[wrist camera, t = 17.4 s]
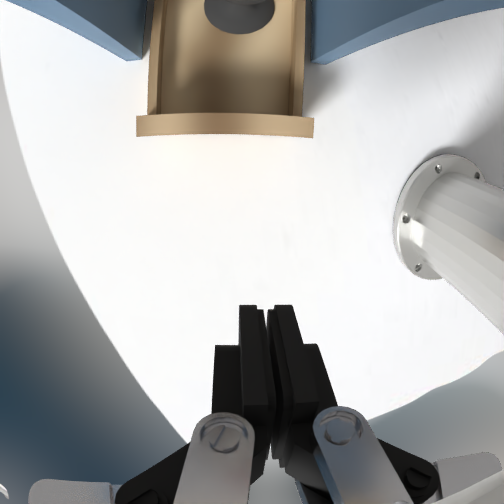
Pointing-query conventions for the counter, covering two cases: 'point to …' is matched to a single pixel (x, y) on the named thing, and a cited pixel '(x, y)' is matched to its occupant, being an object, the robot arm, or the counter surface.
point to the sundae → (239, 14)
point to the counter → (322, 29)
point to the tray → (225, 74)
